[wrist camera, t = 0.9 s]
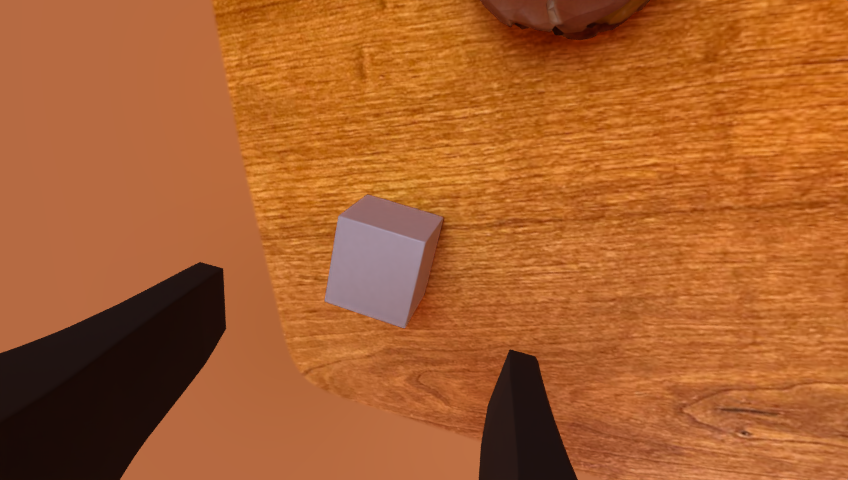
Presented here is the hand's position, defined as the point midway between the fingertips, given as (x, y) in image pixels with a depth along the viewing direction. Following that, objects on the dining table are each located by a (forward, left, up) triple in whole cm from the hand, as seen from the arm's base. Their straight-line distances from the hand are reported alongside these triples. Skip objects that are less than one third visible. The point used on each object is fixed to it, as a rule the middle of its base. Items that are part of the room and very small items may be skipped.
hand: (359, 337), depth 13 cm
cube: (-3, +2, -13) cm, 14 cm away
